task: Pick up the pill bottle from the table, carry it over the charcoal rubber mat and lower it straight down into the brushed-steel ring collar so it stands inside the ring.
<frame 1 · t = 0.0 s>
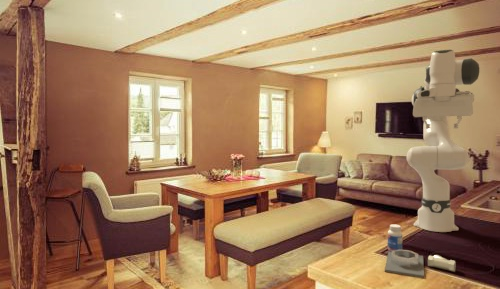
hand: (441, 128, 133), 48 cm above the counter, tool pointing down, fingers open, 8 cm apart
steel collar: (404, 258, 123), on the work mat, point 2 cm above the counter
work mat: (404, 264, 123), on the counter
pill bottle: (394, 250, 137), on the counter
pipe fitting: (442, 268, 121), on the counter
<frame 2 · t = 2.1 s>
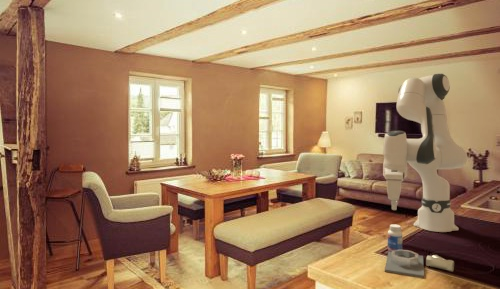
hand: (394, 206, 136), 17 cm above the counter, tool pointing down, fingers open, 8 cm apart
nothing on the counter moved.
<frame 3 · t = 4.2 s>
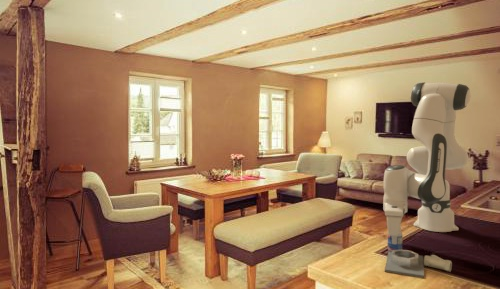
hand: (394, 240, 137), 4 cm above the counter, tool pointing down, fingers closed on pill bottle, 5 cm apart
pill bottle: (394, 250, 137), on the counter, touching gripper
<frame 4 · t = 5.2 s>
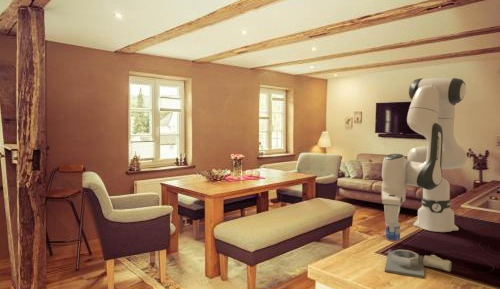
hand: (392, 229, 138), 8 cm above the counter, tool pointing down, fingers closed on pill bottle, 5 cm apart
pill bottle: (392, 240, 138), point 3 cm above the counter, touching gripper
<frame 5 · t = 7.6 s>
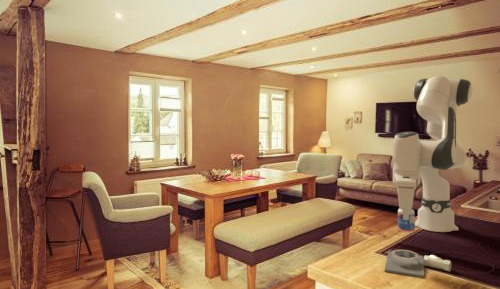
hand: (406, 217, 122), 17 cm above the counter, tool pointing down, fingers closed on pill bottle, 5 cm apart
pill bottle: (406, 231, 122), point 12 cm above the counter, touching gripper
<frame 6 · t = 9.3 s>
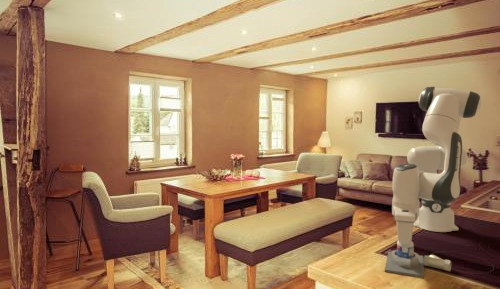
hand: (405, 248, 123), 6 cm above the counter, tool pointing down, fingers closed on pill bottle, 5 cm apart
pill bottle: (405, 262, 123), point 1 cm above the counter, touching gripper, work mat
when the fingers open (6 cm above the counter, at t = 9.9 s): pill bottle stays where it is, resting on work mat.
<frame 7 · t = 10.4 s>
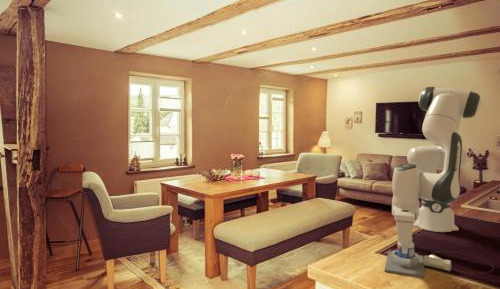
hand: (405, 248, 123), 6 cm above the counter, tool pointing down, fingers open, 8 cm apart
pill bottle: (405, 262, 123), point 1 cm above the counter, touching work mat
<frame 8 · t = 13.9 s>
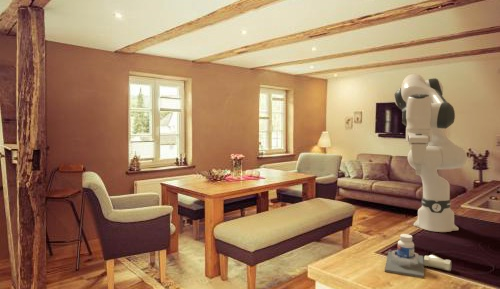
hand: (418, 173, 131), 31 cm above the counter, tool pointing down, fingers open, 8 cm apart
at the end: pill bottle 0.3 cm off-centre on the steel collar, point 0.6 cm above the steel collar's base; pill bottle tilted 0°; the gripper is holding nothing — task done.
